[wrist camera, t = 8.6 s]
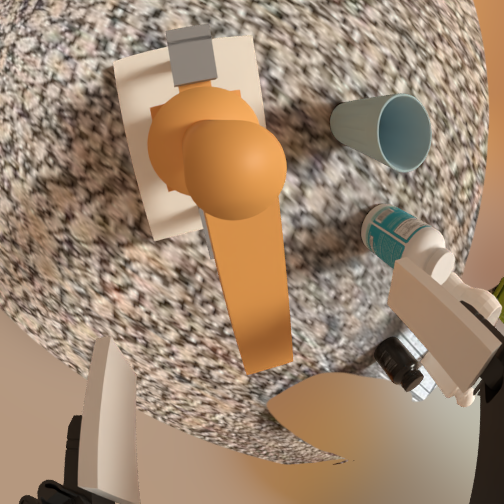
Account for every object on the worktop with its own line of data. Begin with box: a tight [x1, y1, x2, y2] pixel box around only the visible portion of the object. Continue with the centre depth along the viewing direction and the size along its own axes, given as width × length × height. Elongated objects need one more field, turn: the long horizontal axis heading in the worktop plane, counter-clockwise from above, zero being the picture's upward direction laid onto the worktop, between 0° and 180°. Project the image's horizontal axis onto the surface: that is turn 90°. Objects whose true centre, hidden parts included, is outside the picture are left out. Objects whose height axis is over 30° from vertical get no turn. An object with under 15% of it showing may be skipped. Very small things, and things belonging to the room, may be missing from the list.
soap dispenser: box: [421, 351, 475, 407], centre depth 56 cm, size 6×6×22 cm
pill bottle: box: [361, 204, 455, 285], centre depth 32 cm, size 8×7×14 cm
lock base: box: [113, 24, 266, 259], centre depth 22 cm, size 20×14×11 cm
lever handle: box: [147, 80, 293, 375], centre depth 16 cm, size 8×16×17 cm, turn 8°
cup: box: [330, 94, 432, 172], centre depth 25 cm, size 8×8×10 cm
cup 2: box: [441, 272, 502, 326], centre depth 45 cm, size 11×11×15 cm
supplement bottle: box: [374, 337, 424, 392], centre depth 49 cm, size 7×7×12 cm
